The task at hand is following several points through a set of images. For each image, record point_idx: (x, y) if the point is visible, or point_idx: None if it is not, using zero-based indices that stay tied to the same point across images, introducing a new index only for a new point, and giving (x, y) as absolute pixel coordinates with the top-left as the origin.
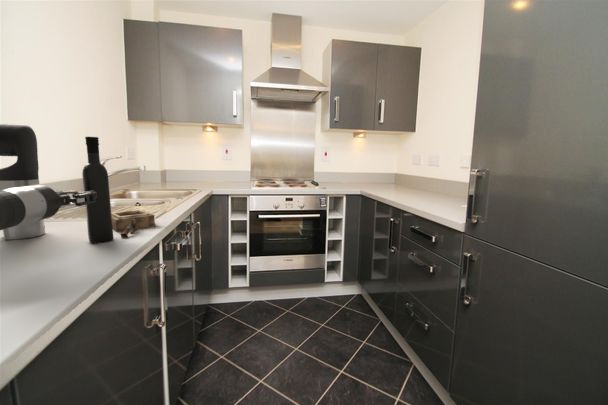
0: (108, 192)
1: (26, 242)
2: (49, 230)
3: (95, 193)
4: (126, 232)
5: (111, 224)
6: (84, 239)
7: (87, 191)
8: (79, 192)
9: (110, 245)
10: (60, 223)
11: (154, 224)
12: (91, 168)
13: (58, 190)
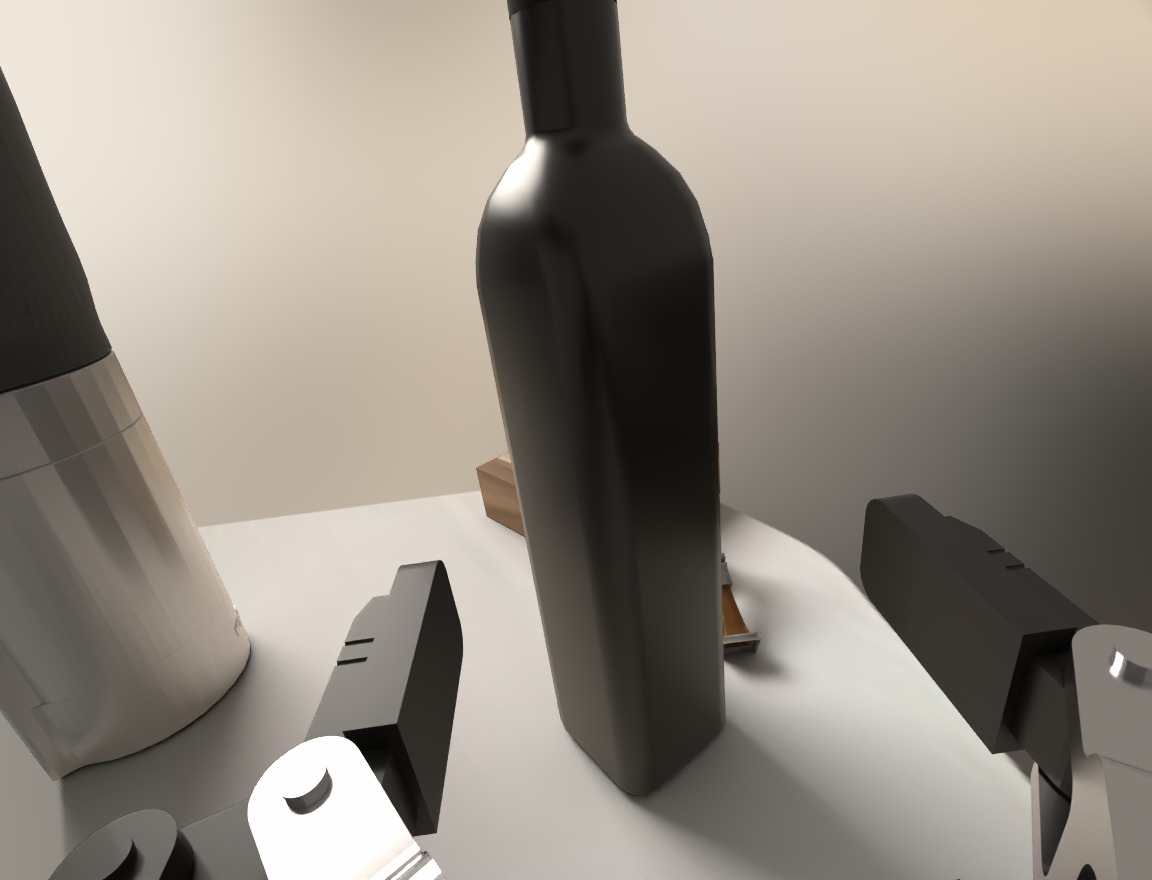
0: (716, 410)
1: (189, 807)
2: (255, 602)
3: (992, 553)
4: (744, 623)
5: (722, 632)
6: (519, 712)
7: (979, 576)
8: (1147, 745)
9: (802, 819)
10: (271, 523)
11: (719, 486)
12: (614, 193)
13: (438, 566)
